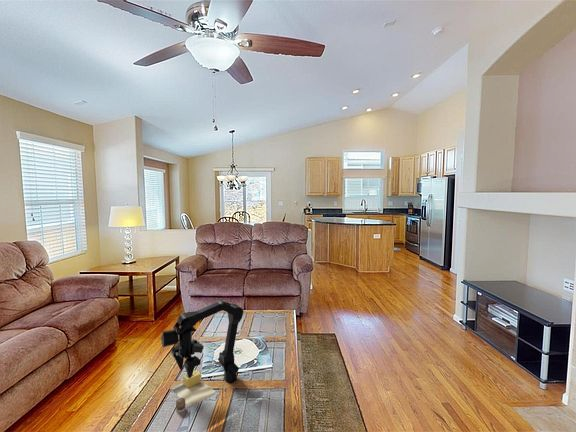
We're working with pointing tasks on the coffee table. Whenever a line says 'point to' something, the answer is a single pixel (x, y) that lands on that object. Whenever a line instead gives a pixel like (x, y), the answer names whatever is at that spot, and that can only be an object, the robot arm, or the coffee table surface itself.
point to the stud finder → (191, 379)
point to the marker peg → (180, 405)
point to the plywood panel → (193, 392)
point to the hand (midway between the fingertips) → (185, 373)
